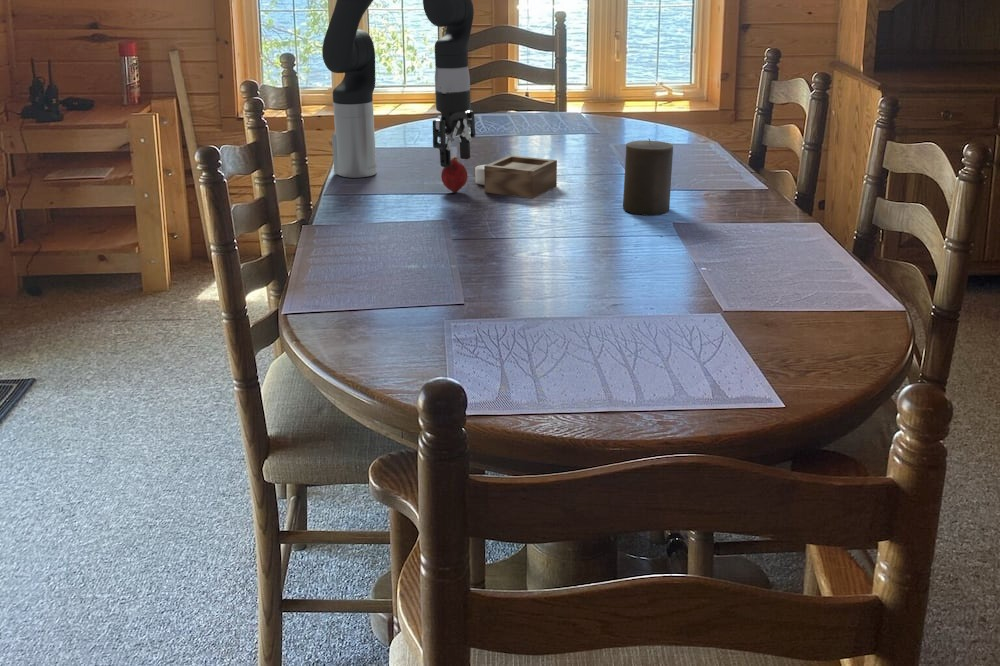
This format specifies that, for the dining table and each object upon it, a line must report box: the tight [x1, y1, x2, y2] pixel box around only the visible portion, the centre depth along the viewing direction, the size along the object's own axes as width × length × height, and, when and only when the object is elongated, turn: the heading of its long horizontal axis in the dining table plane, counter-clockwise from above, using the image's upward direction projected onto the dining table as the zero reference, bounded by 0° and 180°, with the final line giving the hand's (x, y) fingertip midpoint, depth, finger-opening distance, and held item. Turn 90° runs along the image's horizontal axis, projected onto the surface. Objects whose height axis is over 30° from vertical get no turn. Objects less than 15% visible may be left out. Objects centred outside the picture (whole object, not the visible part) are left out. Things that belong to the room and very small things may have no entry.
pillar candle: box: [622, 138, 674, 216], centre depth 219 cm, size 10×10×15 cm
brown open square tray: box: [484, 154, 558, 199], centre depth 237 cm, size 12×12×6 cm
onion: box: [440, 156, 469, 193], centre depth 235 cm, size 6×6×8 cm
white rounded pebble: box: [474, 164, 486, 186], centre depth 245 cm, size 6×6×4 cm
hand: (455, 162), depth 234 cm, fingers open, 8 cm apart
